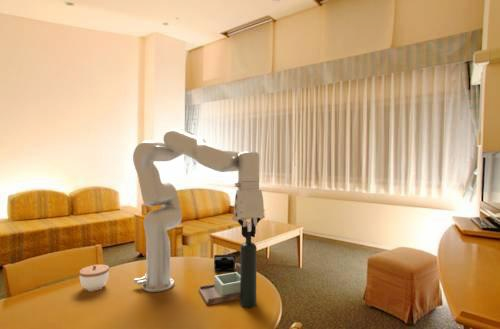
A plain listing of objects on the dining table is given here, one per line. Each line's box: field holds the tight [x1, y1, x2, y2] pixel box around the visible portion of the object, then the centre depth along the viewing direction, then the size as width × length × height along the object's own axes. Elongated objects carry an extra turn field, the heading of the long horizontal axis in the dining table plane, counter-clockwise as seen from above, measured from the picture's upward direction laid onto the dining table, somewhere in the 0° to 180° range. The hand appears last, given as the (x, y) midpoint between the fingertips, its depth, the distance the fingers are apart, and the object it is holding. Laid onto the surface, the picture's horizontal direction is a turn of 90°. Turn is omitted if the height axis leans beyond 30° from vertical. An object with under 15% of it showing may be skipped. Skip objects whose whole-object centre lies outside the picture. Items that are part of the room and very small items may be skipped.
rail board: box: [198, 262, 241, 306], centre depth 113 cm, size 17×12×9 cm
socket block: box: [213, 271, 241, 296], centre depth 114 cm, size 10×10×4 cm
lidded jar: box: [79, 264, 110, 292], centre depth 118 cm, size 11×11×9 cm
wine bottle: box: [239, 220, 258, 309], centre depth 105 cm, size 6×6×30 cm
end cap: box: [213, 254, 236, 273], centre depth 139 cm, size 10×7×7 cm
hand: (248, 236), depth 105 cm, fingers closed on wine bottle
